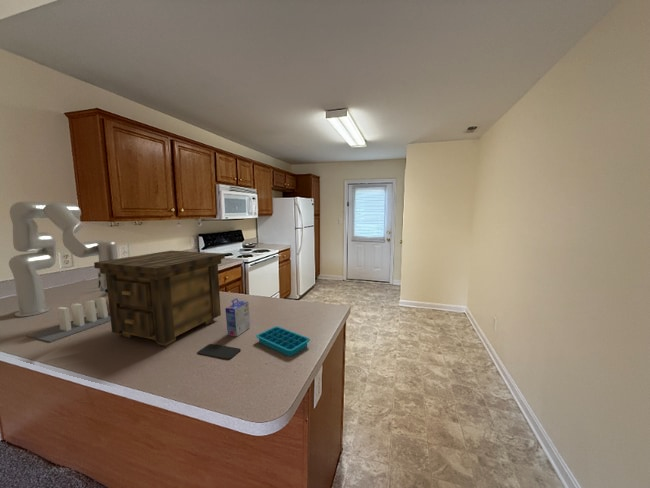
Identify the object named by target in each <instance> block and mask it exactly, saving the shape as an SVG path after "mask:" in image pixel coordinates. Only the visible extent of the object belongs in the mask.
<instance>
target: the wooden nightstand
mask: <svg viewBox="0 0 650 488" xmlns="http://www.w3.org/2000/svg"><path fill="white" fill-rule="evenodd" d="M225 254H226V253H219V252H204V251H188V250H187V251H184V250H183V251H182V250H166V251H160V252H153V253H146V254H142V255H141V254H140V255H134V256H128V257H126V256H125V257H121V258H118V259H113V260H107V261H101V262H99V261H95V262H93V264H94V267H93V268H94V269H97V270H99V269H100V273H101V274H106V282H107V291H108V293H107V297H108V300H109V309H110V318H111V321H110V325H111V333H113V334H118V335H119V334H121V335H122V337H126V338H132V337H134V336H135V337H138V338H139V337H140V338H144V339H148V340H154V341H155V343H156V344H157V345H161V346H164V347H167V346H168V345H170V344H173V343H174V342H176V341H177V337H178V336H179V335H181V334H184V333H186V332H188V331H190V330H191V329H193V328H194V329H195V327H197V326H199V325H208V324H211V323H212V322H214V319H216V318H218V317H220V316H221V315H222V313H221V297H220V296H221V295H220V282H219V281H220V279H219V277H220V276H219V265H220V264H222V260H224V259H225V258H226V256H225Z"/></svg>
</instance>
